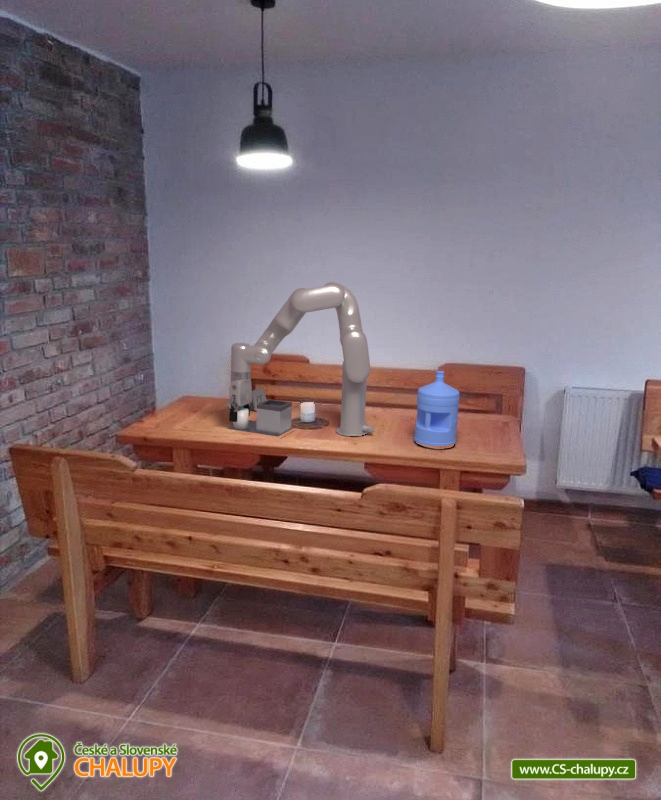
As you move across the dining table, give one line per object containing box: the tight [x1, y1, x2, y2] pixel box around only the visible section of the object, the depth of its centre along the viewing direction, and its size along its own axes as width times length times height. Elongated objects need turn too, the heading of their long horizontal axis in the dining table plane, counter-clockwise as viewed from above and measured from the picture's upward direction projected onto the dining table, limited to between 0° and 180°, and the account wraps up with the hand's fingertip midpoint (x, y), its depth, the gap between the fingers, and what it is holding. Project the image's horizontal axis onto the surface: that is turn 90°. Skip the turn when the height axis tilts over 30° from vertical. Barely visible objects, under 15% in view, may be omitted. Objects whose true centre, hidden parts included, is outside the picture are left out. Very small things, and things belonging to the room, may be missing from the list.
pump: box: [232, 406, 250, 429], centre depth 253 cm, size 8×6×8 cm
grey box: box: [226, 398, 296, 439], centre depth 254 cm, size 22×16×12 cm
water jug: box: [413, 370, 461, 446], centre depth 243 cm, size 16×16×28 cm
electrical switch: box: [249, 387, 267, 412], centre depth 287 cm, size 9×5×9 cm, turn 152°
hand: (239, 418), depth 253 cm, fingers open, 9 cm apart
